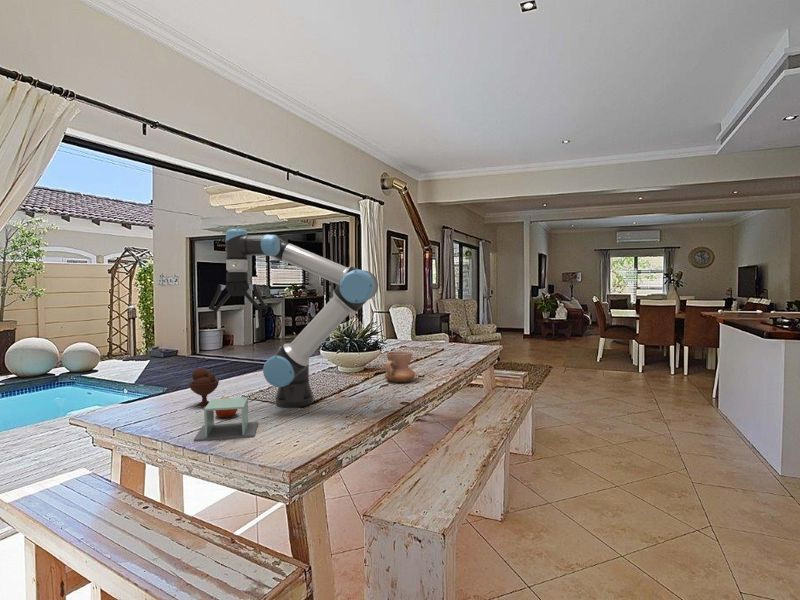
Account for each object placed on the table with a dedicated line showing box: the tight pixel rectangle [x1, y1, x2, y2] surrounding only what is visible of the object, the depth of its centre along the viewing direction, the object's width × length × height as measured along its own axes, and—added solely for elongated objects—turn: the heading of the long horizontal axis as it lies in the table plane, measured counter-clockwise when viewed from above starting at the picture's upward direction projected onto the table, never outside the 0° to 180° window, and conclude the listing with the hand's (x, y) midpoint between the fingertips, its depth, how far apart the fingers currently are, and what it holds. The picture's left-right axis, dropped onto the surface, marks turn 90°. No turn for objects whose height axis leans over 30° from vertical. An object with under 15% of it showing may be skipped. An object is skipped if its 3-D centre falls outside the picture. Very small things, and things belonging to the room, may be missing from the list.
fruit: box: [214, 396, 239, 419], centre depth 170 cm, size 8×8×8 cm
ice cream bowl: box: [188, 367, 220, 408], centre depth 185 cm, size 11×11×15 cm
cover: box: [203, 396, 249, 438], centre depth 153 cm, size 12×12×9 cm
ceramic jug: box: [384, 350, 416, 384], centre depth 226 cm, size 18×14×14 cm
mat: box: [193, 421, 259, 442], centre depth 154 cm, size 18×14×1 cm
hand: (238, 328), depth 176 cm, fingers open, 13 cm apart
